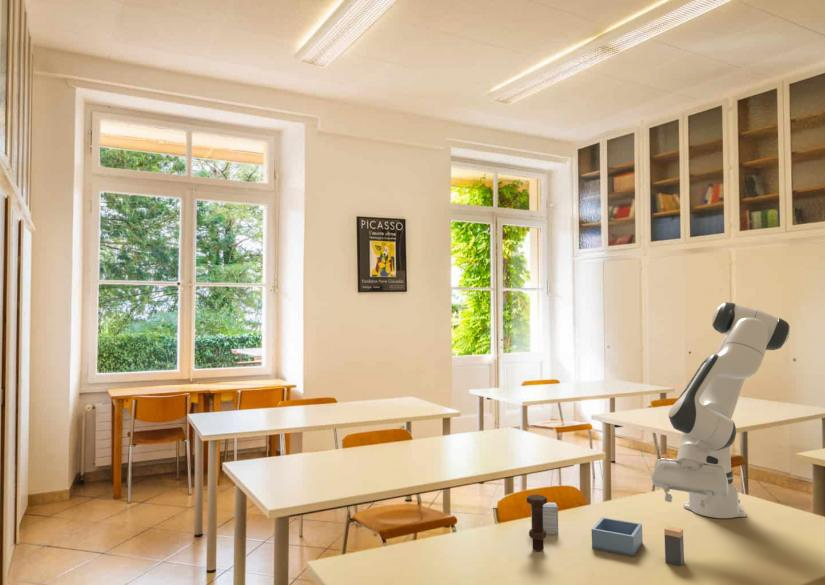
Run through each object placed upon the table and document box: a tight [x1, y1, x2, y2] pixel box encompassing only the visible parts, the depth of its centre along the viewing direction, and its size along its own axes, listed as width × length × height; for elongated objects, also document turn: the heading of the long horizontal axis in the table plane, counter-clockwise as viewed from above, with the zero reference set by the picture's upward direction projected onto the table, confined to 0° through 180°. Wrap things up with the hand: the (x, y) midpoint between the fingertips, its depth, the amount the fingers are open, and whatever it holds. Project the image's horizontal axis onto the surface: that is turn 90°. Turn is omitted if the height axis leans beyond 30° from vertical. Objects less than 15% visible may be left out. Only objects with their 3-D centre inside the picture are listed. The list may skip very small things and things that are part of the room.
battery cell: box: [663, 525, 685, 567], centre depth 160 cm, size 3×4×9 cm
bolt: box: [526, 494, 548, 552], centre depth 171 cm, size 6×5×15 cm
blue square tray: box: [591, 517, 644, 558], centre depth 172 cm, size 12×12×6 cm
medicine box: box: [530, 501, 560, 535], centre depth 184 cm, size 8×4×9 cm, turn 84°
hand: (685, 504), depth 168 cm, fingers open, 8 cm apart
